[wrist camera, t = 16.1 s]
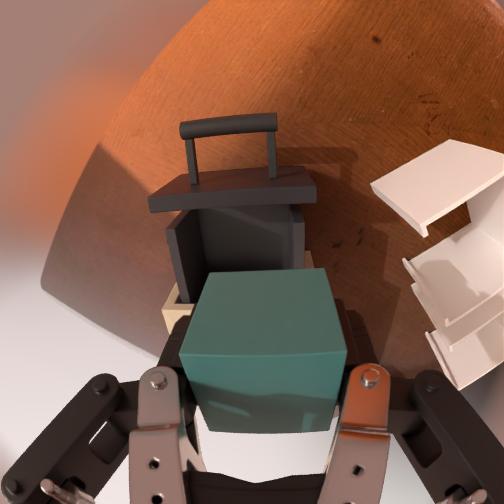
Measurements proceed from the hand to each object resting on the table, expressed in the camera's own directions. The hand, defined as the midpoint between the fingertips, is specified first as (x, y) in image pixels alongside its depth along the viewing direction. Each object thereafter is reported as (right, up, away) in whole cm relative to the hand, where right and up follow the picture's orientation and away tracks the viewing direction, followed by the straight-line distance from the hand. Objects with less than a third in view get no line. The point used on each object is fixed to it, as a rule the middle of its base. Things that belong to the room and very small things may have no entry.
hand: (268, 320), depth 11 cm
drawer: (-1, +6, +16) cm, 17 cm away
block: (0, 0, 0) cm, 0 cm away
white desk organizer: (+22, +3, +17) cm, 28 cm away
